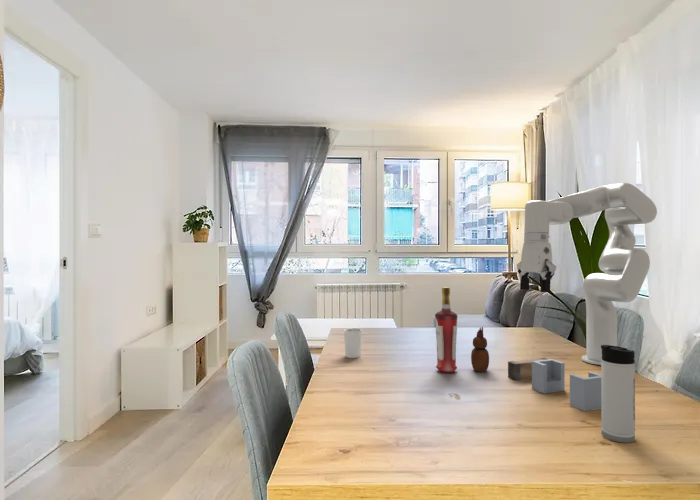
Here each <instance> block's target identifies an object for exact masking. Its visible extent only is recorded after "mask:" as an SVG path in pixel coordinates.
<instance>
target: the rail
mask: <svg viewBox="0 0 700 500" xmlns="http://www.w3.org/2000/svg"><path fill="white" fill-rule="evenodd" d="M547 359H548V358H546V357H537V358H528V359H518V360H509V361H507V378H509V379H511V380H514V381H522V380H528V379H532V361H538V360H547Z"/></svg>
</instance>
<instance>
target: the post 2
mask: <svg viewBox="0 0 700 500" xmlns="http://www.w3.org/2000/svg"><path fill="white" fill-rule="evenodd" d="M587 375H588V376H587V377H582V376H580V375H577V374H574V373H573V374H572V373H571V374H570V373H569V406H572V407H574V408H576V409H578V410H581V411H584V412H587V411H596V410H602V383H601V374H600V373H597V372H594V371H588V374H587Z"/></svg>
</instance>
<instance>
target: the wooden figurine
mask: <svg viewBox="0 0 700 500" xmlns="http://www.w3.org/2000/svg"><path fill="white" fill-rule="evenodd" d="M483 327H484V326H482V327H481V326H480V327H479V329H478V331H476V336H474V337H473V338H472V346H473V348H472V349H471V352H470V359H471V362H470V363H471V366H472V369H473V370H474V371H475V372H478V373H479V372H480V373H483V372H486V371H488V369H489V365H490V354H489V351H488V349H487V346H488V341H487V338H486V337H484V328H483Z"/></svg>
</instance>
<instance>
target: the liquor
mask: <svg viewBox="0 0 700 500" xmlns="http://www.w3.org/2000/svg"><path fill="white" fill-rule="evenodd" d="M441 294H442V295H441V296H442V301H441V310H439V311H437V312H436V313H435V314H434V320H435V322H434V323H435V338H436V360H437V362H436V363H437V364H436V366H435V368H436V369H437V370H438V371H439V372H440V373H444V374H452V373H454V372H455V371H456V370H457V369H458V366H457V364H456V363H457V361H456V360H457V358H456V356H457V355H456V354H457V337H458V336H457V334H458V333H457V332H458V314H457V313H456V312H454V311H452V310H451V309H452V308H451V301H450V295H451V287H449V286H448V287H447V286H443V287H441Z"/></svg>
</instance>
